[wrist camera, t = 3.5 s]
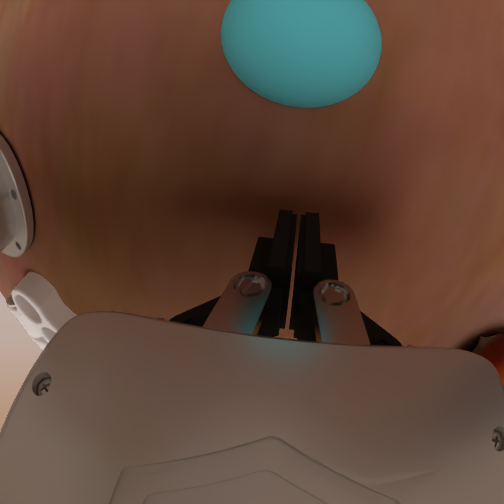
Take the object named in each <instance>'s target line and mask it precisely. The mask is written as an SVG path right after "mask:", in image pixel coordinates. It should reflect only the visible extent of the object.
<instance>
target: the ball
mask: <svg viewBox="0 0 504 504" xmlns="http://www.w3.org/2000/svg"><path fill="white" fill-rule="evenodd" d="M221 45H222V48H223V52H224V55H225V57H226V60H227V62H228V64H229V65H230V67H231V69H232V71H233V72H234V73H235V74H236V76H237V77H238V78H239V79H240V80H241V81H242V82H243V83H244V84H245V85H246V86H247V87H248V88H250V89H251V90H252V91H253V92H255V93H257V94H258V95H260V96H262V97H264V98H266V99H268V100H270V101H273V102H275V103H278V104H281V105H286V106H290V107H298V108H316V107H324V106H328V105H332V104H335V103H338V102H341V101H343V100H345V99H347V98H349V97H351V96H352V95H354V94H355V93H357V92H358V91H359V90H360V89H361V88H362V87H364V86H365V84H366V83H367V82H368V81H369V80H370V78H371V77H372V75H373V73H374V72H375V70H376V68H377V65H378V63H379V59H380V55H381V46H382V42H381V33H380V29H379V25H378V23H377V20H376V18H375V15H374V14H373V12H372V10H371V9H370V7H369V6H368V4H367V3H366V2H365V0H231V1H230V3H229V5H228V7H227V9H226V11H225V14H224V16H223V20H222V25H221Z"/></svg>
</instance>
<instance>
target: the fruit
mask: <svg viewBox="0 0 504 504" xmlns="http://www.w3.org/2000/svg"><path fill="white" fill-rule="evenodd" d="M472 353H475V354H477V355H480V356H482V357H484V358H485V359H487V360H488V361H490V362H491V363H492V364H493V366H494V367H495V368H496V370H497V372H498V374H499V376H500V378H501V380H502V383H503V386H504V335H503V334H500V333H499V334H496V335H494V336H490V337H481V336H480V340H479V343H478V345H477V346H476V348H475V349H474V350H473V351H472Z"/></svg>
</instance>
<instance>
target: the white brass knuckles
mask: <svg viewBox="0 0 504 504" xmlns="http://www.w3.org/2000/svg"><path fill="white" fill-rule="evenodd" d="M6 302H7V305H8V308H9V310H10V311H11V312H12V313H13V314H15V316H16V317H17V319H18V320H19V322H20V323H21V324H22V326H23V327H24V328H25V330H26V331H27V332H28V333H29V335H30V338H31V339H32V340H33V341H34V342H35V343H37V344H38V345H39V347H40V348H41V349H42V350H44V348H45V347H46V345H47V344H48V343H49V341H50V340H51V339H52V337H53V336H54V335H55V334H56V332H57V331H58V330H59V329H60V328H61V327H62V326H63V325H64V324H65V323H66V322H67V321H68V320H70V319H71V318H73V317H75V316H77V315H76V314H75V313H74V312H72V311H71V310H70V309H69V308H68V307H67V306H66V305H65V304H64V302H63V301H62V300H61V298H60V297H59V295H58V293H57V291H56V289H55V288H54V287H53V286H52V285H51V284H50V283H49V282H48V281H47V280H46V279H45V278H44V277H42V276H41V275H39V274H37V273H35V272H28V273H27V274H26V276H25V277H24V278H23V279H22V280H21V281H20V282H19V283H18V284H17V285H16V287H15V288H14V289H13V290H12V294H10V295H9V296H8V298H7V300H6Z"/></svg>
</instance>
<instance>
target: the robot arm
mask: <svg viewBox="0 0 504 504" xmlns="http://www.w3.org/2000/svg"><path fill="white" fill-rule="evenodd" d="M296 220H297V214H292V211H290V210H280V211H279V216H278V220H277V225H276V230H275V235H274V238H265V237H259V238H258V241H257V244H256V247H255V251H254V254H253V257H252V261H251V264H250V267H249V271H248V272H242V273H239V274H237V275H236V276H234V277H233V278H232V279H231V280H230V282H229V284H228V285H227V287H226V289H225V290H224V292H223V294H222V295H221V296H219V297H217V298H215V299H213V300H210V301H208V302H206V303H204V304H201V305H199V306H197V307H195V308H192V309H190V310H188V311H186V312H183V313H181V314H179V315H176V316H175V317H173V318H171V319H170V320H169V321H167V320H164V318H152V317H146V316H141V315H135V314H130V313H123V312H114V311H98V312H88V313H84V314H80V315H77V316H75V317H73V318H71V319H70V320H68V321H67V322H66V323H65V324H64V325H63V326H62V327H61V328H60V329H59V330H58V331H57V332H56V334H55V335H54V336H53V337H52V339H51V340H50V341H49V343H48V344H47V345H46V347H45V348H44V350H43V351H42V353H41V354H40V356H39V357H38V359H37V361H36V362H35V364H34V365H33V367H32V369H31V370H30V372H29V374H28V376H27V377H26V379H25V381H24V383H23V385H22V387H21V388H20V390H19V392H18V394H17V396H16V398H15V400H14V402H13V404H12V406H11V408H10V410H9V413H8V415H7V417H6V420H5V422H4V425H3V427H2V429H1V432H0V504H504V386H503V383H502V380H501V378H500V376H499V374H498V372H497V370H496V368H495V367H494V366H493V364H492V363H491V362H490V361H488V360H487V359H485V358H484V357H482V356H480V355H477V354H475V353H472V352H470V351H465V350H461V349H455V348H445V347H416V346H411V345H407V346H402V344H401V343H400V342H399V341H398V340H397V339H396V338H394V337H393V336H392V335H391V334H389V333H388V332H387V331H385V330H384V329H383V328H382V327H380V326H379V325H378V324H376V323H375V322H374V321H373V320H371V319H370V318H369V317H367V316H366V315H365V314H364V313H362V312H361V311H360V309H359V306H358V303H357V300H356V297H355V294H354V292H353V290H352V289H351V288H350V287H349V286H348V285H347V284H345V283H343V282H341V281H338V271H337V261H336V252H335V245H334V244H326V243H320V226H319V213H311V212H306V215H301V220H300V230H299V240H298V250H297V259H296V268H295V278H294V289H293V299H292V308H291V317H290V326H289V329H291V330H294V338H297V339H298V340H295V339H286V338H277V337H274V336H278V335H279V328H282V329H285V323H286V315H287V307H288V298H289V290H290V281H291V272H292V262H293V252H294V242H295V231H296ZM33 229H34V223H33V213H32V207H31V202H30V198H29V194H28V190H27V187H26V183H25V181H24V178H23V175H22V172H21V169H20V167H19V165H18V162H17V160H16V158H15V156H14V154H13V152H12V150H11V148H10V147H9V145H8V144H7V142H6V141H5V139H4V138H3V137H2V136H1V135H0V252H3V253H4V254H6V255H8V256H11V257H19V256H21V255H22V254H23V253H24V252H26V251H27V250H28V249H29V247H30V245H31V243H32V239H33Z"/></svg>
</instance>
